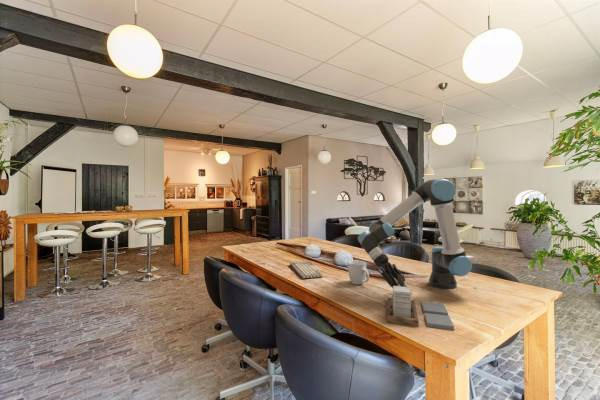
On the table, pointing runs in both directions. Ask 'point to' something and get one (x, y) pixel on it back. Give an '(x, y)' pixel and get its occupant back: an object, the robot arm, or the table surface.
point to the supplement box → (401, 301)
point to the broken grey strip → (437, 315)
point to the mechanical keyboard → (305, 270)
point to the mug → (357, 272)
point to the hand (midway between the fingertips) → (407, 295)
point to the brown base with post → (401, 320)
